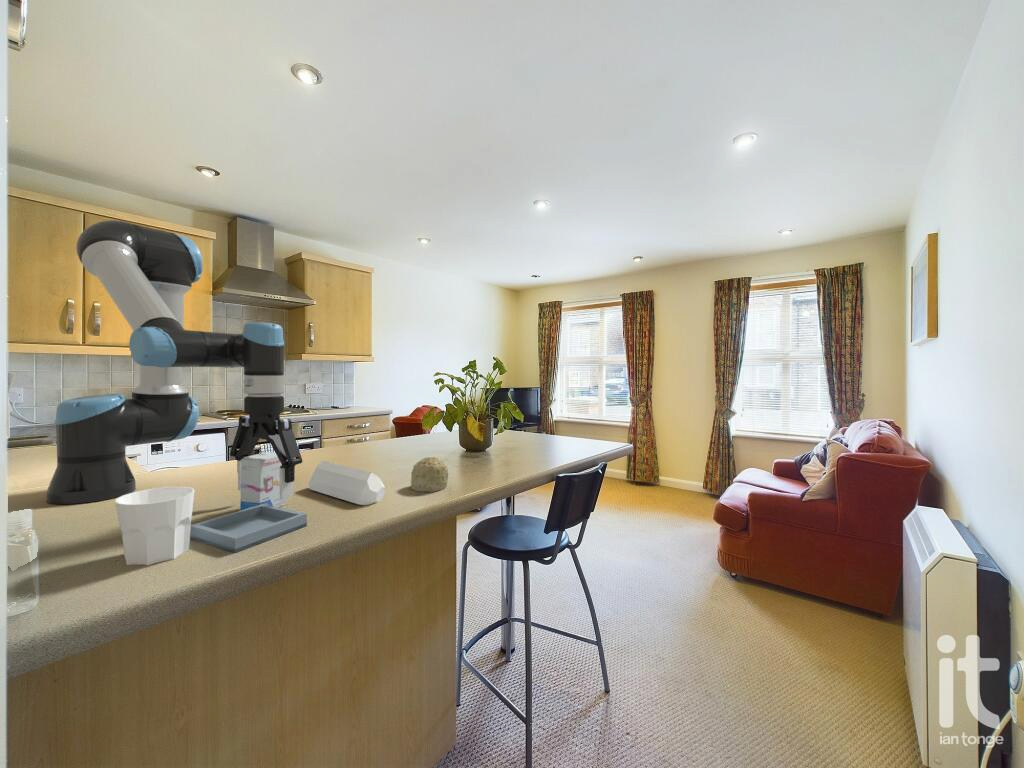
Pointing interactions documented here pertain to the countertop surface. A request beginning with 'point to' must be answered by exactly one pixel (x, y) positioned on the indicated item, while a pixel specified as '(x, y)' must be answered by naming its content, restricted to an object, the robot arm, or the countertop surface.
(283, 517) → the tray
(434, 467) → the decorative object
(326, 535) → the countertop surface
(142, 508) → the cup
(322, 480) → the crystal
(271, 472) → the ink box
